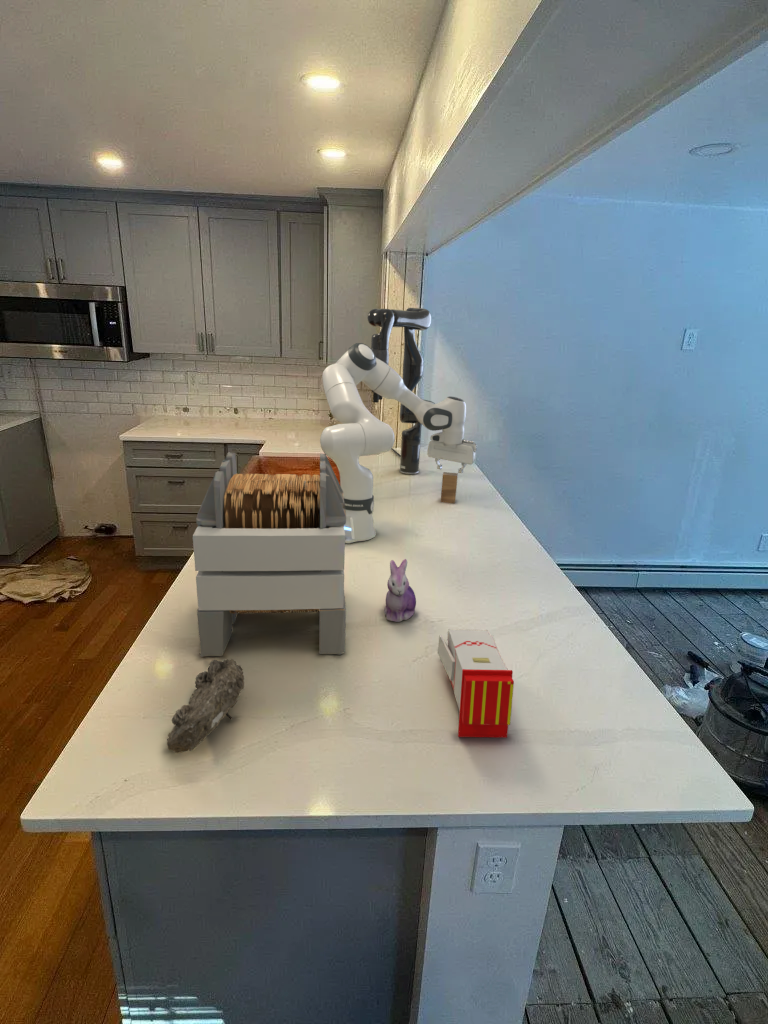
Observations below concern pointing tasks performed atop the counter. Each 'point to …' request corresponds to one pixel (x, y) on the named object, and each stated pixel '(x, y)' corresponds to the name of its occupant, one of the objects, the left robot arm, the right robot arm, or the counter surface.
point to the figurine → (399, 594)
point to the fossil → (206, 705)
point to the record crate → (270, 552)
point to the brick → (449, 487)
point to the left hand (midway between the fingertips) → (449, 471)
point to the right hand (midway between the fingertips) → (377, 400)
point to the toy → (478, 682)
